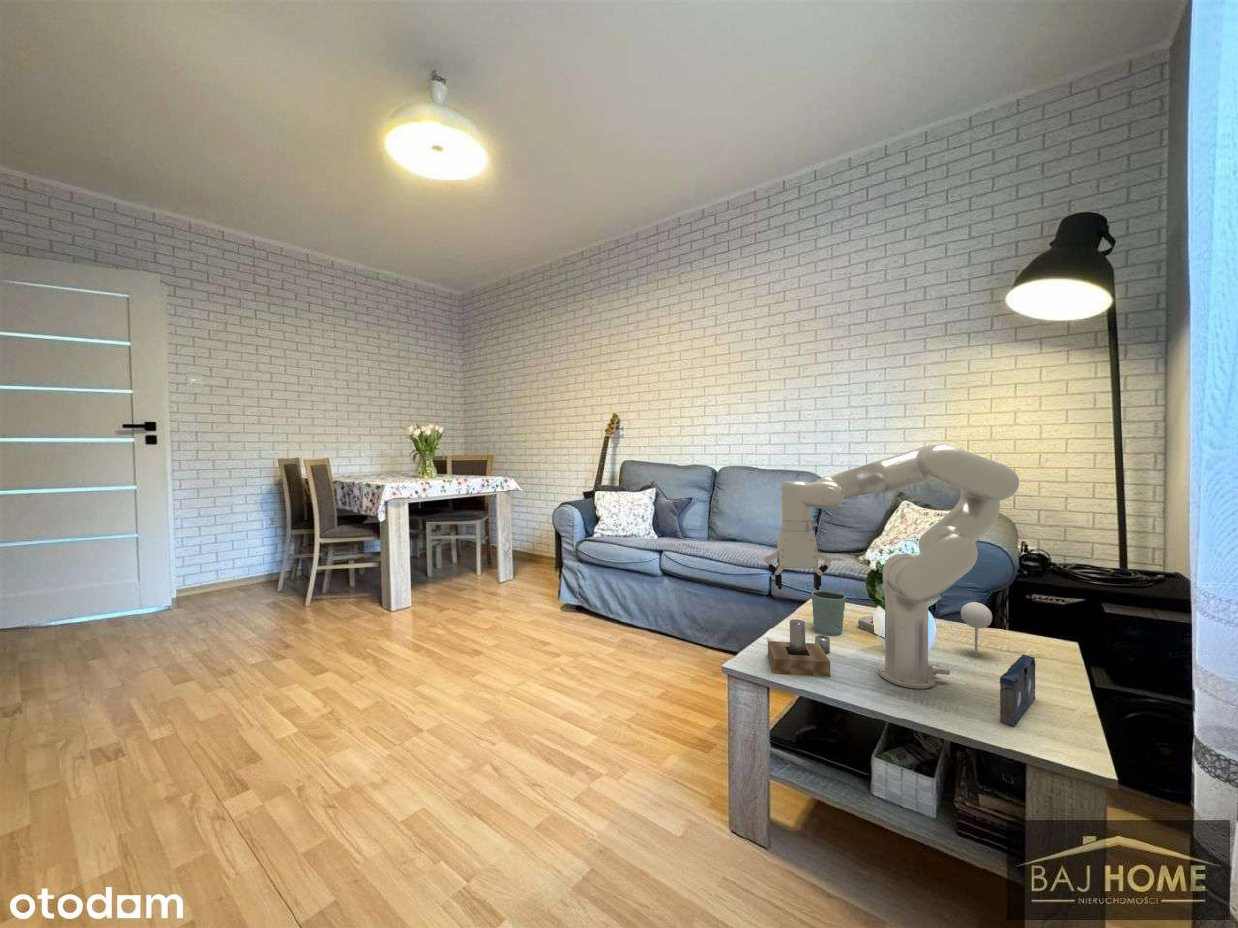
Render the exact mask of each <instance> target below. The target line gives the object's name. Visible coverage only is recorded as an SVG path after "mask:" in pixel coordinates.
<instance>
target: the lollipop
mask: <svg viewBox="0 0 1238 928" xmlns="http://www.w3.org/2000/svg"><path fill="white" fill-rule="evenodd" d="M960 616H961V619H962V621H963V622H964V623H965V624H966V625H967V626H969V627H970V628H974V656H976V657H977V656H979V653H978V652H979V648H978V647H979V645H978V644H979V639H978V638H979V631H978V630H979V629H985V628H988V627H989V626H990V625H991V623H992V621H993V614H992V611H991V610H990V609H989V608H988V606H986V605H985V604H983V603H980V602H976V601H972V602H967V603H966V604H964V605H963V606H962V607H961V610H960Z"/></svg>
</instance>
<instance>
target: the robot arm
mask: <svg viewBox="0 0 1238 928" xmlns="http://www.w3.org/2000/svg"><path fill="white" fill-rule="evenodd" d="M933 480H939V481H941V482H943V483H945V484H948V485H951V486H953V487H956V488H958V489H959V491H960V497H959V499H958V502H957V503H956V505H955V506H954V508H952V509H951V510H950V511H949V513H947V514H946V515H945V516H944V517H942V518H941V519H940V520H939V521H938V522H936V523H935V524H934V525H933V526H931V527H930V528H929V529H928V530H927V531H925V532H924V533H923V534H922V535H921V537H920V538H919V541H918V548H919V554H917V555H916V556H913V555H912V554H907V553H897V554H895V555H891V557H889V558H888V559H887V560H886V561H885V563H884V566H883V569H882V583H883V584H882V585H883V590H884V591H883V592H884V593H883V594H884V618H885V638H884V662H883V663H881V664H880V665H879V666H878V670H877V672H878V674H879V676H880V677H882V679H884V680H885V681H888V682H889V683H892V684H894V685H898V686H900V687H905V688H909V689H918V690H919V689H922V690H923V689H930V688H932V687H934V686H936V677H935V676H937V675H946V676H950V675H951V669H950V667H949V666H943V665H942V666H940V664H939V663H938V662H929V602H930V601H932V600H934V599H936V598H937V597H938V596H940V595H941V594H942V593H944V592H945V591H947V589H949V588H951V586H953V585H954V584H955V583H956V582H958V581H959V580H960V579H961V578H962V577H964V576H965V575H966V574H967V573H969V572H970V571H971V570H972V569H973V567H974V566H975V565H976V562H977V560H978V556H979V553H978V547H977V545H976V543H977V541H978V540H980V538H982V537H983V536H984V535H985V534H986V533H987V532H988V531H990V529H992V527H993V526H994V524H995V523H996V521H997V520H998V518H999V514H1000V509H1001V501H1005V500H1008V499H1009V498H1012V497H1013V496H1014V495H1015V494H1016V493H1017V491H1018V490H1019V487H1020V481H1019V480H1020V479H1019V476H1018V474H1017V472H1015V471H1014V470H1013V469H1012V468H1011V467H1010V466H1008V465H1005V464H1003V463H1001V462H998V461H995V460H992V459H989V458H986V457H983V456H980V455H978V454H976V453H975V454H974V453H972V452H969V451H966V450H964V449H961V448H959V447H956V446H953V445H949V444H930V445H928V444H927V445H925V446H921V447H919V448H916V449H912V450H909V451H905V452H902V453H899V454H896V455H892V456H889V457H886V458H882V459H880V460H875V461H874V462H870V463H867V464H864V465H861V466H858V467H855V468H852V469H851V468H850V469H849V470H845V471H840V472H837V473H835V474H832V475H828V476H825V477H822V478H819V479H817V480H815V481H814V482H813V481H811V482H808V481H806V480H786V481H784V482H783V483H782V484H781V515H782V516H781V521H782V523H781V525H782V527H781V528H782V529H780V530H779V531H778V536H777V543H776V544H777V546H776V547H777V548H776V551H774V552H773V553H771V554H769V555H767V556H765V557H764V558H763V559H764V561H765V563H766V565H767V567H768V568H769V569H770V570H771V571H772V572H773V573H774V584H775V586H777V588H778V590H782V589H783V586H782V585H783V583H782V582H783V579H782V578H783V577H782V574H781V573H782V571H784V569H798V570H799V569H800V570H801V569H802V570H803V569H805V570H806V569H813V570H814V573H813V588H814V589H815V591H816V590H820V587H822V576H823V574H824V573H825V572H826V571H827V570H828V569H829V566H830V564H832V561H833V560H832V558H831V557H829V556H826V555H825V554H822V553H820V552H819V551H818V544H817V538H816V533H815V531H814V530H813V528H817V527H818V521H814V520H813V519H812V508H816V509H824V510H832V509H836V508H838V507H839V506H840V505H841V504H842V503H843V501H844V500H847V499H850V498H855V497H858V496H864V495H872V494H873V495H879V494H881V495H882V494H887V493H892V492H895V491H898V490H902V489H904V488H909V487H911V486H915V485H916V486H917V485H918V484H922V483H926V482H929V481H933ZM774 559H776V560H777V561H776V562H777V565H776V566H775V565H774V564H773V563H772V560H774ZM819 559H820V560H823V563H822V564H821V565H820V567H818V566H819Z"/></svg>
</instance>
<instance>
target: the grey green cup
mask: <svg viewBox="0 0 1238 928" xmlns="http://www.w3.org/2000/svg"><path fill="white" fill-rule="evenodd" d="M846 599H847V596H846V595H845V594H843V593H841V592H839V591H834V590H833V591H832V590H828V589H827V590H825V589H823V590H822V589H819V590H816V589H815V590H813V591H811V605H812V616H813V617H812V618H813V619H812V621H813V623H812V624H813V630H814V632H816V633H817V634H819V635H820V634H821V635H822V636H827V637H830V636H831V637H836V636H837V637H838V636H840V635H842V633H843V628H844V626H843V625H844V623H843V622H844V616H845V614H844V613H845V607H846V606H845V605H846V601H847V600H846Z"/></svg>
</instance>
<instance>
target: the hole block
mask: <svg viewBox="0 0 1238 928" xmlns="http://www.w3.org/2000/svg"><path fill="white" fill-rule="evenodd" d="M805 653H806V656H804V655H790V641H778V640H776V641H775V640H767V656H769V657H768V659H770V660H769V662H771V663H770V665H772V666H771V668H773V669H772V671H773V674H774V675H787V676H802V677H803V676H805V677H821V678H831V677H832V676H831V675H832V674H831V660H830V659H829V657H828V655H827V654H825V652H824V651H823V649H822V648H821V646H820V644H818V643H815V642H812V643H811V642H805Z"/></svg>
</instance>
